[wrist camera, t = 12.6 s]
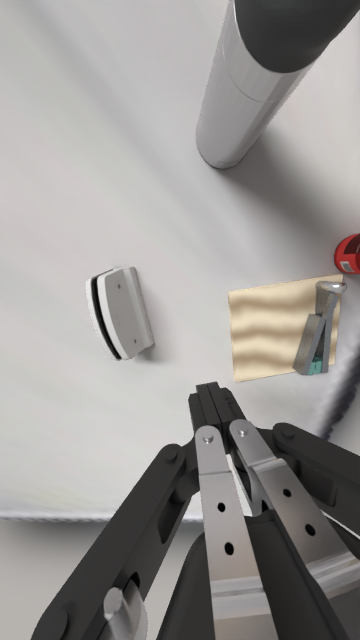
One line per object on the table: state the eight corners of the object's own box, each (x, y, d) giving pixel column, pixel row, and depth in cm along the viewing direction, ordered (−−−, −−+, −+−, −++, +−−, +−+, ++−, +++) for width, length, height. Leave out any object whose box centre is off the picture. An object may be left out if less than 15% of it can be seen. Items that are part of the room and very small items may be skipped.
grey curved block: (154, 343, 41) (132, 370, 32) (135, 345, 42) (108, 371, 33) (133, 264, 36) (100, 269, 27) (112, 269, 38) (74, 275, 28)
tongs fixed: (310, 281, 39) (331, 284, 34) (324, 279, 39) (347, 281, 35) (306, 367, 45) (323, 379, 40) (318, 365, 45) (337, 377, 40)
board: (228, 291, 39) (230, 292, 38) (338, 274, 41) (343, 274, 39) (234, 379, 45) (236, 382, 44) (329, 361, 47) (334, 364, 45)
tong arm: (315, 291, 40) (333, 294, 36) (327, 293, 40) (345, 296, 36) (292, 367, 44) (305, 378, 40) (303, 368, 45) (317, 378, 41)
